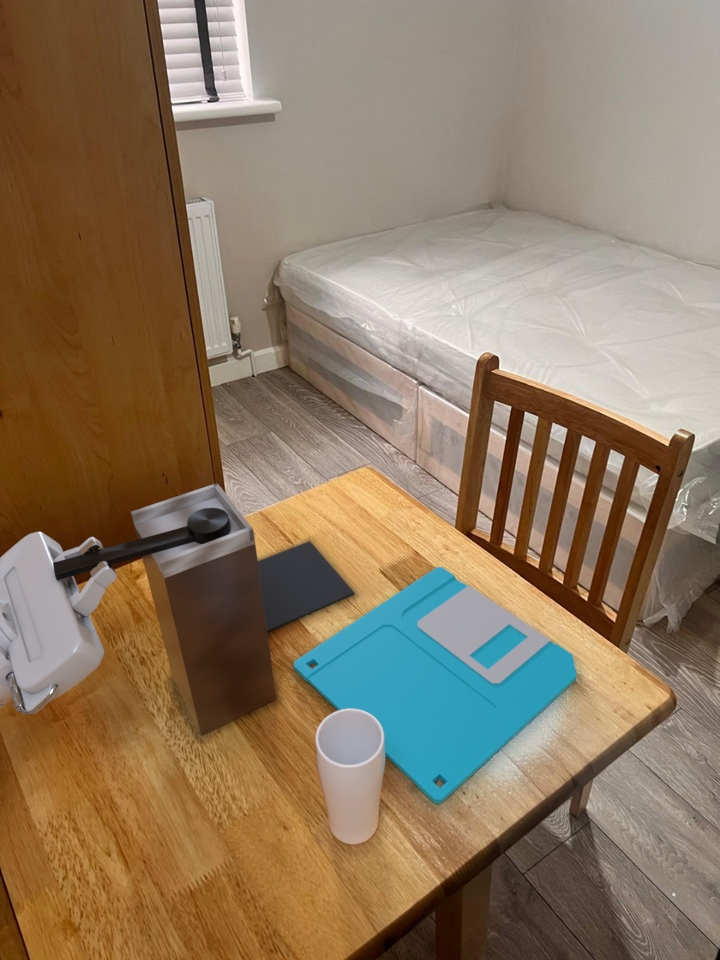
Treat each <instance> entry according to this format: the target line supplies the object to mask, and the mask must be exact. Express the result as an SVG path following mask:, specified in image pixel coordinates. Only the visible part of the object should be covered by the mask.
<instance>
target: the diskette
mask: <svg viewBox="0 0 720 960" xmlns="http://www.w3.org/2000/svg"><path fill="white" fill-rule="evenodd" d="M312 664H314V665H315V666H314V667H310V666H312ZM293 670H294V671H295V673H296V674H298V675H299V677H301V679H303V680H304V681H305V682H307V683H308V684H309V685H311V687H313V688H314V689H315V690H316V691H317V692H318V693H319V694H320V695H321V696H322V697H323V698H324V699H325V700H326V701H327V702H328V703H329V704H331V706H333V708H335V710H336V711H339V710H342V709H359V710H363V711H366V712H368V713H370V714H371V715H373V716H374V717H375V718H376V719H377V720H378V721H379V723H380V724H381V726H382V728H383V731H384V739H385V758H386V757H387V759H388V760H389V761H390V762H391V763H392V764H393V765H394V766H396V767H397V768H398V769H399V770H400V771H401V772H402V773H403V774H404V775H405V776H406V777H407V779H409V780H410V781H412V782H413V784H414V785H416V787H417V788H418V790H420V792H421V793H423V794H424V795H425V796H426V797H427V798H428V799H429V800H430V801H431V802H432V803H433V804H434V805H441V804H443V803H444V802H445V801H446V800H447V799H448V798H449V797H450V796H452V794H454V793H455V792H456V791H457V790H458V789H459V788H460V787H461V786H462V785H464V784H465V783H466V782H467V781H468V780H469V779H470V778H471V777H473V775H474V774H476V773H477V772H478V771H479V770H480V769H481V768H482V767H483V766H484V765H485V764H486V763H487V762H489V761H490V760H491V759H492V758H493V757H494V756H496V754H497V753H499V752H500V750H502V749H503V748H504V747H505V746H506V745H507V744H508V743H509V742H511V740H513V738H515V737H516V736H517V735H518V734H519V733H520V732H521V731H522V730H524V728H526V727H527V726H528V725H529V724H530V723H531V722H532V721H533V720H534V719H535V718H537V717H538V716H539V715H540V714H541V713H542V712H543V711H544V710H545V709H547V708H548V707H549V706H550V705H551V704H552V703H553V702H554V701H555V700H556V699H557V698H558V697H560V696H561V695H562V694H563V693H564V692H565V691H566V690H567V689H568V688H569V687H571V685H573V684H574V683H575V682H576V681H577V676H578V675H577V672H576V665H575V660H574V655H573V653H571V652H569V651H568V650H566V649H565V648H563V647H562V646H560V645H559V644H557V643H556V644H555V643H554V642H553V641H552V639H550V638H549V637H547V636H545V635H544V634H542V633H541V632H539V631H538V630H537V629H535V628H534V627H532V626H530V625H529V624H528V623H526V622H525V621H523V620H522V619H521V618H519V617H517V616H515V614H513V613H511V612H510V611H508V610H507V609H505V608H504V607H502V606H501V605H499V604H498V603H496V602H495V601H493V600H492V599H490V598H489V597H487V596H486V595H484V594H483V593H481V592H480V591H479V590H477V589H475V588H474V587H473V586H471V585H467V584H466V583H464V582H461V581H460V580H458V579H457V578H456V576H455V574H453V573H451V572H450V571H448V570H447V569H446V568H444V567H442V566H437V567H435V568H433V569H432V570H430V571H429V572H427V573H426V574H425V575H423V576H421V577H420V578H418V579H417V580H415V581H414V582H412V583H410V585H408V586H406V587H404V588H403V589H402V590H400V591H399V592H397V593H396V594H394V595H393V596H391V597H390V598H388V599H387V600H385V601H383V602H382V603H380V604H379V605H377V606H376V607H375V608H373V609H372V610H370V611H368V612H367V613H365V614H364V615H362V616H361V617H359V618H358V619H356V620H355V621H353V622H352V623H350V624H349V625H347V626H346V627H344V628H342V629H341V630H340V631H338V632H337V633H335V634H334V635H332V636H331V637H329V638H328V639H326V640H325V641H323V642H322V643H320V644H319V645H317V646H315V647H314V648H313V649H311V650H309V651H308V652H306V653H305V654H304V655H301V656H300V657H299V658H297V659H296V660H294V661H293ZM438 780H440V781H441V782H442V783H444V784H443V785H442V786H440V787H439V786H438V785H437V784H436V782H437V781H438Z"/></svg>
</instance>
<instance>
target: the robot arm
mask: <svg viewBox="0 0 720 960" xmlns="http://www.w3.org/2000/svg"><path fill="white" fill-rule="evenodd" d="M101 549H105V548H104V546H103V543H102V541H100V540H98V539H97V538H96V537H94V536H89V537H88V538H87V539H86V540H85V541H83V542H82V543H81V544H80V545H79V546H76V547H73V548H70V549H67V550H65V551H64V549H63V548H62V546H61V544H60V543H59V542H57V541H56V540H54V539H53V538H52V537H50V536H48V535H47V534H45V533H44V532H42V531H35V532H31V533H29V534H27V535H26V536H24V537H23V538H21V539H20V540H19V541H18V542H16V543H15V544H14V545H12V547H11V548H10V549H8V550H7V551H6V552H5V553H4V554H3V555H1V556H0V710H1V709H3V708H4V707H6V706H7V705H9V703H11V702H12V704H13V707H14V709H15V711H16V712H18V713H22V714H23V715H32V714H33V715H34V714H37V713H38V712H39V711H41V710H42V709H43V708H44V707H45V706H47V704H48V703H50V702H52V701H54V700H56V699H58V698H60V697H61V696H63V695H65V694H66V693H67V692H69V691H70V690H71V689H73V688H74V687H76V686H77V685H78V684H80V683H81V682H82V681H84V680H85V679H86V678H88V677H89V675H91V674H92V673H93V672H94V671H96V670H97V669H98V668H99V667H100V665H101V664H102V661H103V659H104V656H105V654H106V652H105V648H104V646H103V644H102V641H101V639H100V636H99V634H98V632H97V629H96V627H95V625H94V622H93V619H92V618H91V614H92V613H93V612H94V611H95V610H96V609H97V608H98V607H99V605H100V602H101V600H102V598H103V596H104V595H105V592H106V591H107V588H108V587H109V586H110V585H111V584H113V583H114V581H116V580H117V579H118V574H117V572H116V570H115V568H114V565H109V564H108V563H107V562H105V561H103V562H100V563H99V564H98V565H97V567H95V568H93V569H92V570H91V571H89V574H90V576H91V577H90V578H89V580H88V581H87V583H86V584H85V585H84V586H83V588H82V590H81V591H80V589H79V586H78V584H77V580H76V579H75V577H74V576H71V577H68V578H64V579H60V580H56V577H55V573H54V567H53V563H54V562H57V561H61V560H65V559H68V558H72V557H76V556H79V555H83V554H87V553H90V552H94V551H98V550H101Z"/></svg>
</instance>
